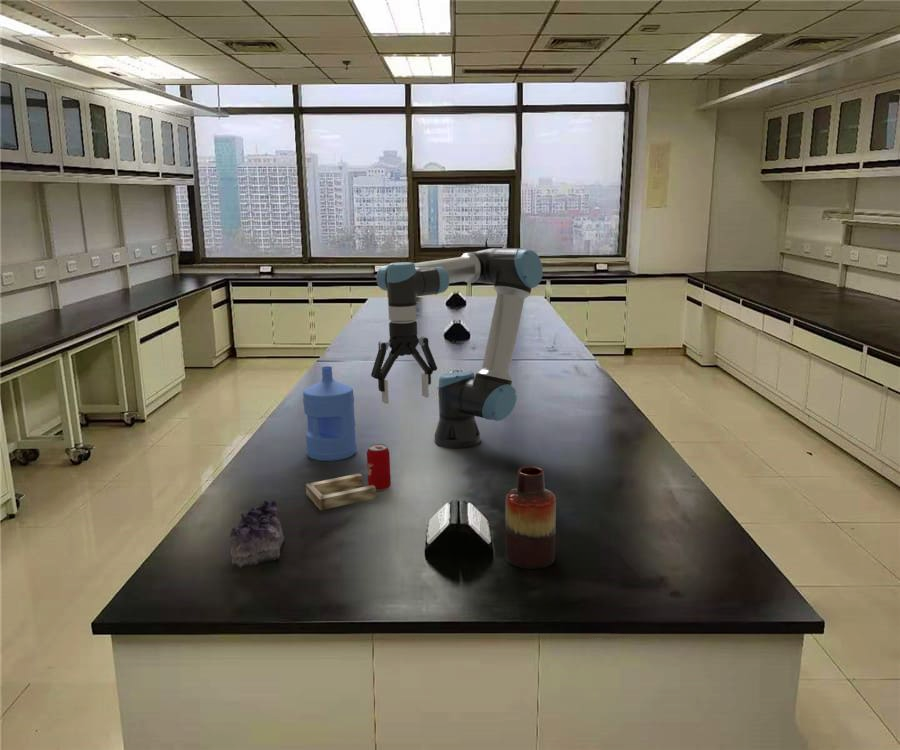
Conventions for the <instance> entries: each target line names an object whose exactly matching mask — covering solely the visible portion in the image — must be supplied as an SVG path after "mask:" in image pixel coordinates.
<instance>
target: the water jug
mask: <svg viewBox="0 0 900 750" xmlns="http://www.w3.org/2000/svg"><path fill="white" fill-rule="evenodd" d="M332 369H333V366H328V365H327V366H321V370H322V372H321V376H322V379H321V381H319V382H316V383H315V384H312V385H311V386H309V387H307V388H305V389H304V390H303V392H302V403H303V412H304V414H305V415H306V417H307V432H306V433H305V441H306V443H305V444H306V446H305V447H306V455H307V457H308V458H310V459H311V460H314V461H320V462H335V461H342V460H345V459H348V458H351V457H352V456H353V455H355V454H356V453H357V443H356V442H357V441H356V419H355V404H354V403H355V395H354V390H353V387H352V386H350V385H348V384H345V383H343V382H340V381H338V380H334V378H333V371H332Z"/></svg>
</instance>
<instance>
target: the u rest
mask: <svg viewBox="0 0 900 750" xmlns="http://www.w3.org/2000/svg"><path fill="white" fill-rule="evenodd" d="M305 490H306V491H305V494H306V496H308V498H309V499H310V501H312V502H313V503H314V505H315V506H316V507H317V508H318V509H319V510H320V511H323V510H324V511H325V510H328V509H333V508H337V507H340V506H346V505H350V504H355V503H360V502H365V501H368V500H373V499H376V498H377V491H376V487H375V486H374V485H370V486H368V485H367V486H363V475H362V474H361V473H354V474H349V475H345V476H339V477H335V478H329V479H324V480H321V481H320V480H319V481H314V482H310V483H305Z"/></svg>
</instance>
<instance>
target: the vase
mask: <svg viewBox="0 0 900 750" xmlns="http://www.w3.org/2000/svg"><path fill="white" fill-rule="evenodd" d="M544 473H545V472H544V469H543V468H540V467H538V466H524V467H520V468H519V469H518V471H517V480H516V481H517V482H516V488H515V487H514V488H512V489H511V490H509V491H508V492H507V493H506V495H505V559H507V560H508V561H507V560H506V561H507V563H509V562H510V563H511V564H513V565H514V566H513V565H512V566H513V567H515V566H517V567H516V568H518V567H520V568H519V569H522V568H525V569H524V570H530V569H535V570H540V569H539V568H542V569H546V568H548V567H550V566H551V565H552V564H553V563H554V562H555V559H556V514H557V513H556V511H557V505H556V504H557V498H556V497H557V496H555V494H554V493H553V492H552V491H551V490H549V489H547V488H545V474H544ZM510 563H509V564H510ZM511 564H510V565H511ZM549 565H550V566H549ZM547 566H548V567H547ZM545 567H546V568H545Z"/></svg>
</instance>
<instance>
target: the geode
mask: <svg viewBox="0 0 900 750" xmlns="http://www.w3.org/2000/svg"><path fill="white" fill-rule="evenodd" d="M240 516H241V519H240V522H239V523H237V525H236V526H234V527H232V529H231V531H230V533H229V537H230V538H231V542H230V543H231V545H230V557H231V565H234V566H236V567H237V568H238V569H242V568H245V567H251V566H254V565H258V564H260V563H266V562H274V561H277V560H279V559H280V558H281V549H282V548H283V544H284V543H285V539H286V538H285V537H286V536H284V532H283V529H282V523H281V521H280V518H279V504H278V503H277V502H276V501H275V500H272V501H271V502H269V501H267V500H264V502H263V503H262V502H261V503H260V504H259V506H258V507H252V508H250V510H248V512H246V513H245V512H242V513H240Z"/></svg>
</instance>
